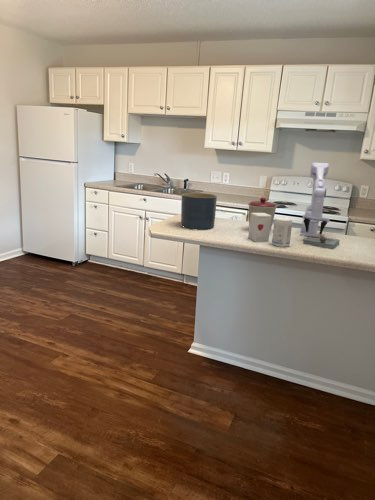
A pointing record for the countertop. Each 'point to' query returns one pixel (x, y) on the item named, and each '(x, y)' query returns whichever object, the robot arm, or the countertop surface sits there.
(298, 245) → the countertop surface
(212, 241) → the countertop surface
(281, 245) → the supplement tub
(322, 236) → the cream ball
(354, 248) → the countertop surface
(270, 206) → the canister
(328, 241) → the grey board with rails
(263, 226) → the supplement box
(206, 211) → the planter
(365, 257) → the countertop surface
